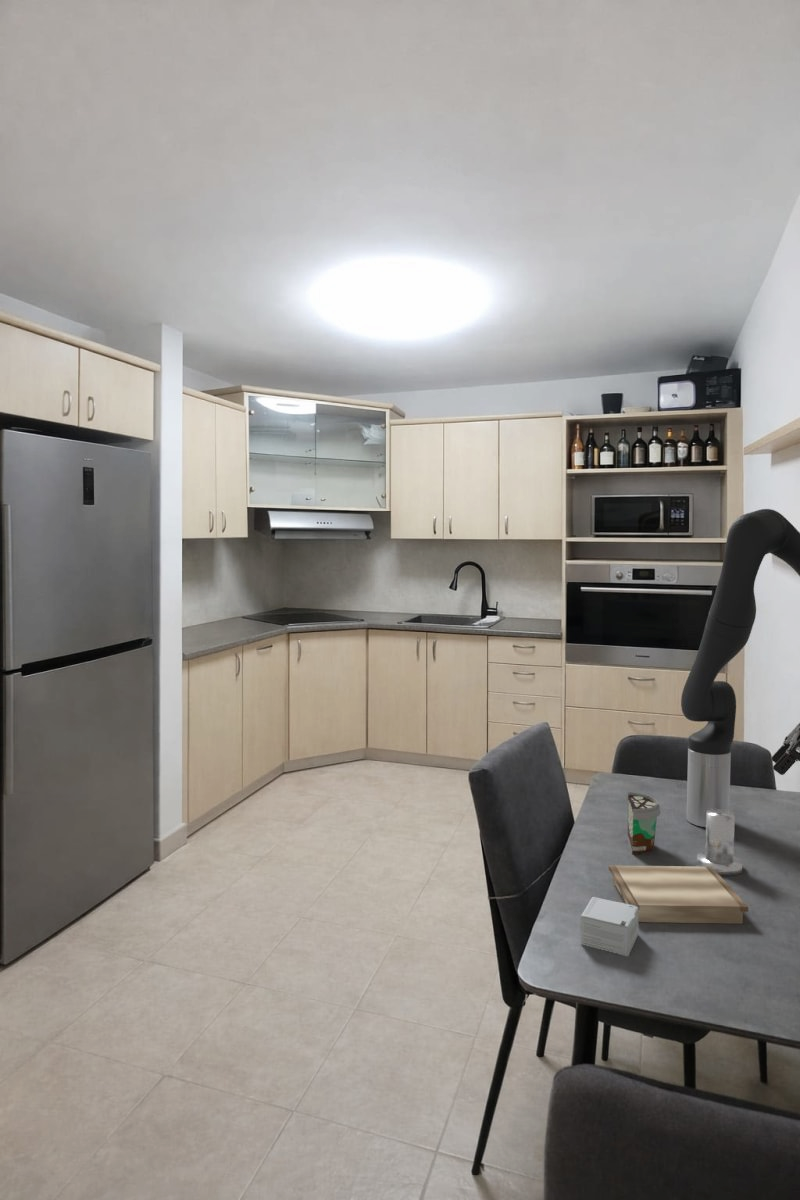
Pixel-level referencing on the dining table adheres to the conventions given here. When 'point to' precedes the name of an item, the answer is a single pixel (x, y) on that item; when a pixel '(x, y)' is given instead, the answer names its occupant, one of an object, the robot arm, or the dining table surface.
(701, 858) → the bell jar
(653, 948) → the dining table surface
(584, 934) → the small box
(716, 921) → the stand
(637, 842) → the food container
